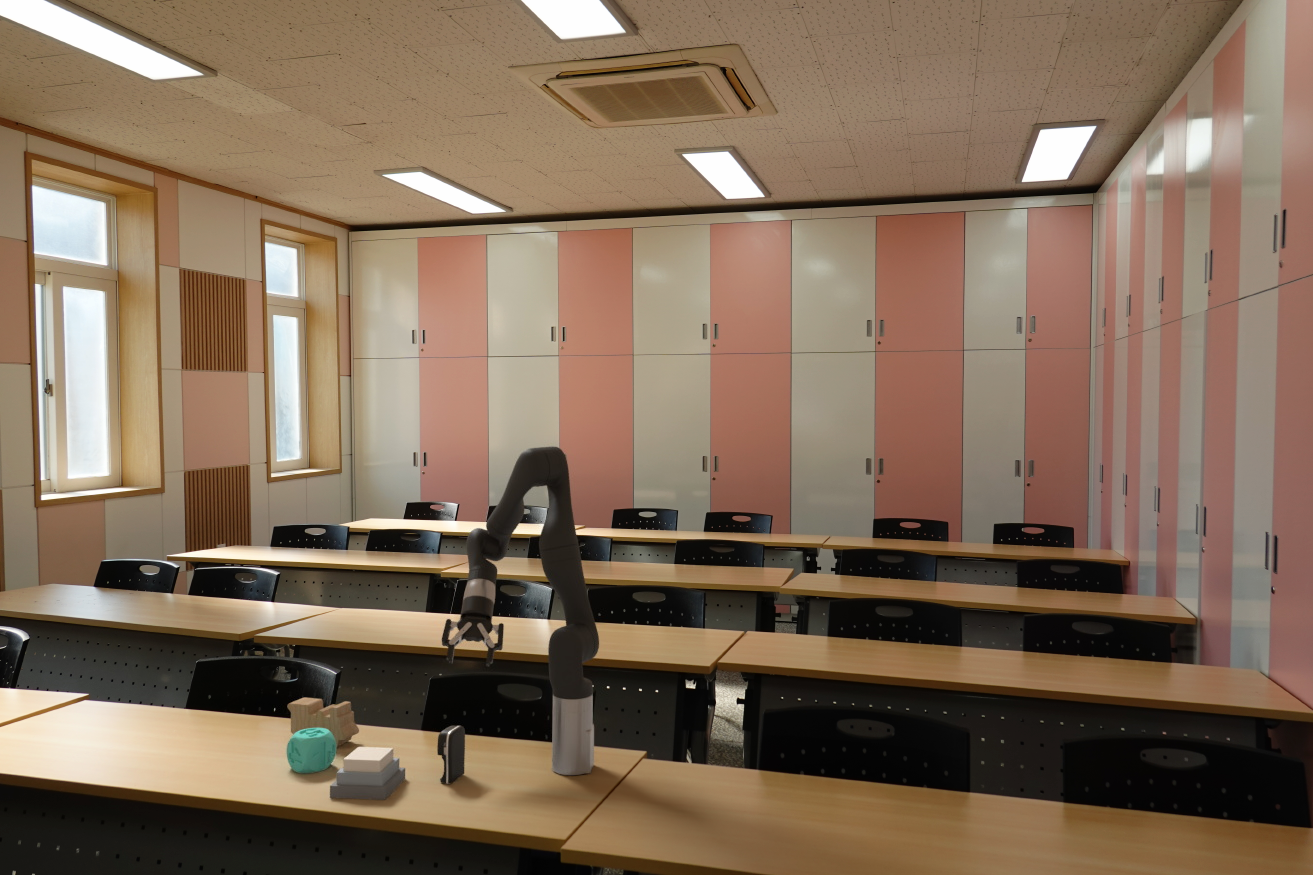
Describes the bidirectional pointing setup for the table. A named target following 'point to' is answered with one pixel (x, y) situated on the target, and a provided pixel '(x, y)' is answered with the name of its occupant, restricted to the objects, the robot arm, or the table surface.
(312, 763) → the decorative dice
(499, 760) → the table surface
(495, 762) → the table surface
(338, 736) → the toy train
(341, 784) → the block tower
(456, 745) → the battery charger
